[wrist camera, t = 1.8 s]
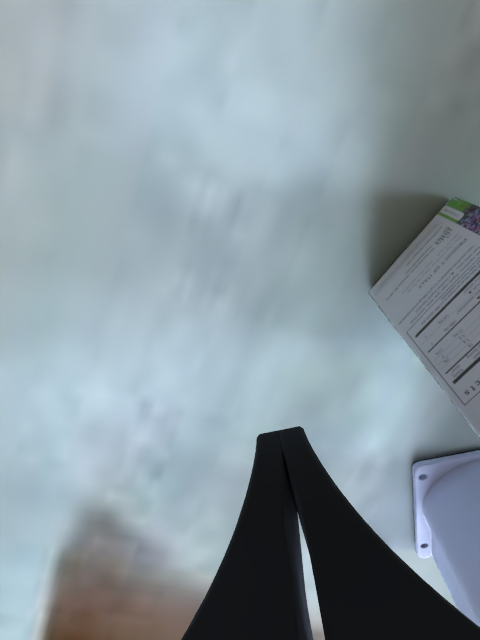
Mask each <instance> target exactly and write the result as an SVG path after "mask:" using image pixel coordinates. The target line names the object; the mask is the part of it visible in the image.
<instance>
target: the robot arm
mask: <svg viewBox="0 0 480 640" xmlns="http://www.w3.org/2000/svg"><path fill="white" fill-rule="evenodd" d="M412 475H413V500H414V525H415V550H416V553H417V555H418V557H420V558H428V557H433V558H434V560H435V563H436V565H437V567H438V569H439V571H440V573H441V575H442V577H443V579H444V582H445V584H446V586H447V588H448V590H449V592H450V594H451V596H452V599H453V601H454V603H455V605H456V607H457V608H455V607H454V606H453V605H452V604H451V603H449V602H448V601H447V600H446V599H445V598H443V597H442V596H441V595H440V594H439V593H438V592H437V591H435V590H434V589H433V588H432V587H431V586H430V585H429V584H427V583H426V582H425V581H424V580H423V579H422V578H421V577H420V576H419V575H418V574H417V573H415V572H414V571H413V570H412V569H411V568H410V567H409V566H408V565H407V564H406V563H405V562H404V561H403V560H402V559H401V558H400V557H399V556H398V555H397V554H396V553H394V552H393V551H392V550H391V549H390V548H389V547H388V545H387V544H386V543H385V542H384V541H383V540H382V539H381V538H380V537H379V536H378V535H377V534H376V533H375V532H374V531H373V530H372V528H371V527H370V526H369V525H368V524H367V523H366V522H365V521H364V519H363V518H362V517H361V516H360V515H359V514H358V512H357V511H356V510H355V509H354V508H353V506H352V505H351V504H350V503H349V501H348V500H347V499H346V497H345V496H344V495H343V494H342V492H341V491H340V490H339V488H338V487H337V486H336V484H335V483H334V481H333V480H332V479H331V477H330V476H329V474H328V473H327V471H326V470H325V468H324V467H323V465H322V464H321V462H320V461H319V459H318V457H317V456H316V454H315V452H314V451H313V449H312V447H311V445H310V443H309V441H308V439H307V437H306V434H305V432H304V429H303V428H301V427H300V426H299V427H294V428H289V429H284V430H279V431H273V432H268V433H263V434H260V435H259V436H258V437H257V445H256V453H255V459H254V464H253V469H252V474H251V478H250V482H249V486H248V490H247V493H246V497H245V500H244V504H243V507H242V510H241V513H240V516H239V519H238V522H237V525H236V528H235V531H234V533H233V536H232V539H231V541H230V544H229V546H228V549H227V551H226V553H225V556H224V558H223V560H222V563H221V565H220V567H219V569H218V571H217V574H216V576H215V578H214V580H213V582H212V584H211V586H210V588H209V590H208V592H207V594H206V596H205V598H204V600H203V602H202V604H201V605H200V607H199V609H198V611H197V613H196V614H195V616H194V618H193V620H192V622H191V624H190V625H189V627H188V629H187V631H186V633H185V634H184V636H183V638H182V639H181V640H313V636H312V630H311V625H310V619H309V613H308V608H307V600H306V593H305V584H304V574H303V564H302V554H301V544H300V533H299V523H298V515H299V519H300V522H301V526H302V529H303V533H304V536H305V540H306V543H307V547H308V550H309V554H310V558H311V564H312V569H313V575H314V580H315V585H316V591H317V596H318V602H319V607H320V613H321V618H322V624H323V630H324V635H325V640H480V450H478V451H473V452H467V453H462V454H457V455H451V456H446V457H441V458H435V459H430V460H425V461H419V462H417V463H415V464H414V465H413V467H412ZM297 512H298V514H297Z"/></svg>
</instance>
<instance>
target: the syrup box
mask: <svg viewBox="0 0 480 640" xmlns="http://www.w3.org/2000/svg"><path fill="white" fill-rule="evenodd" d="M369 295H370V296H371V297H372V299H373V300H374V301H375V303H376V304H377V305H378V307H379V308H380V309H381V310H382V312H383V313H384V314H385V316H386V317H387V318H388V320H389V321H390V322H391V324H392V325H393V326H394V327H395V329H396V330H397V331H398V333H399V334H400V335H401V337H402V338H403V339H404V340H405V342H406V343H407V344H408V346H409V347H410V348H411V349H412V351H413V352H414V353H415V355H416V356H417V357H418V358H419V360H420V361H421V363H422V364H423V365H424V366H425V368H426V369H427V370H428V371H429V373H430V374H431V375H432V376H433V378H434V379H435V380H436V381H437V383H438V384H439V385H440V386H441V388H442V389H443V390H444V392H445V393H446V394H447V396H448V397H449V398H450V400H451V401H452V402H453V403H454V405H455V406H456V407H457V409H458V410H459V411H460V413H461V414H462V415H463V417H464V418H465V419H466V421H467V422H468V424H469V425H470V426H471V428H472V429H473V430H474V432H475V433H476V434H477V435H478V436H479V438H480V207H479V206H476V205H474V204H471V203H469V202H466V201H464V200H461V199H459V198H457V197H454V198H452V199H451V200H449V201H448V202H447V203H446V205H445V206H444V207H443V208H442V209H441V210H440V211H439V212H438V213H437V215H436V216H435V217H434V218H433V219H432V220H431V221H430V222H429V224H428V225H427V226H426V227H425V228H424V229H423V230H422V232H421V233H420V234H419V235H418V236H417V237H416V238H415V239H414V240H413V242H412V243H411V244H410V245H409V246H408V247H407V248H406V250H405V251H404V252H403V253H402V254H401V255H400V256H399V257H398V259H397V260H396V261H395V262H394V263H393V264H392V266H391V267H390V268H389V269H388V270H387V271H386V272H385V274H384V275H383V276H382V277H381V278H380V279H379V281H378V282H377V283H376V284H375V285H374V286H373V287H372V288H371V290H370V291H369Z"/></svg>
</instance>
